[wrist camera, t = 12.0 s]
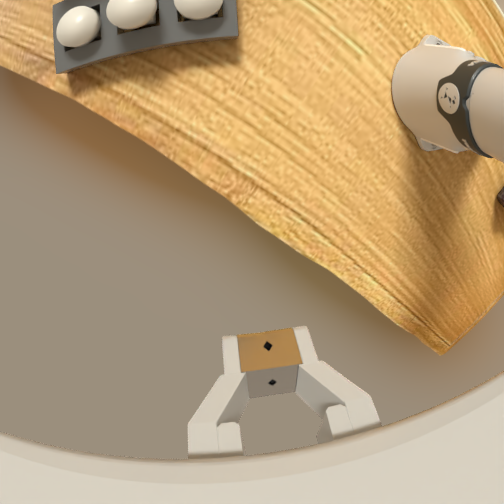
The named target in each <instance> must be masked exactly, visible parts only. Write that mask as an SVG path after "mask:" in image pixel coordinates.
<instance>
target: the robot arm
mask: <svg viewBox="0 0 504 504" xmlns="http://www.w3.org/2000/svg"><path fill="white" fill-rule="evenodd" d="M436 44H437V45H436ZM392 96H393V101H394V105H395V108H396V111H397V113H398V115H399V117H400V118H401V120H402V121H403V123H404V124H405V125H406V126H407V127H408V128H409V129H410V130H411V131H412V132H413V133H414V135H415V137H416V139H417V142H418V144H419V146H420V148H421V149H422V150H425V151H433V150H439V149H446V150H448V151H451V152H453V153H459V151H460V152H461V151H467V150H471V151H473V152H474V153H476V154H479V155H481V156H482V155H483V156H485V157H487V158H495V159H497V160H499V161H501V162H503V163H504V69H503V68H502V67H500V66H499V65H497V64H493V63H491V62H488V61H486V60H485V59H483V58H481V57H478V56H474V53H472V52H470V51H466V50H465V49H463V48H459V47H452V46H451V45H449V44H447V43H446V42H444V41H442V40H440V39H439V38H437V37H435V36H433V35H426V36H424V37H423V39H422V40H421V42H420V43H419V45H418V46H417V47H415V48H413V49H411V50H410V51H408V52H407V53H405V54H404V55H403V56H402V57H401V59H400V60H399V62H398V63H397V65H396V68H395V70H394V74H393V79H392ZM222 344H223V357H224V358H223V359H224V372H225V374H224V375H220V376H219V378H218V380H217V381H216V383H215V384H214V386H213V387H212V389H211V390H210V392H209V393H208V395H207V396H206V398H205V399H204V401H203V402H202V404H201V405H200V407H199V408H198V410H197V411H196V413H195V414H194V416H193V417H192V419H191V420H190V422H189V423H188V459H152V458H134V457H122V456H113V455H104V454H96V453H89V452H83V451H77V450H71V449H66V448H61V447H56V446H52V445H47V444H43V443H39V442H35V441H31V440H27V439H24V438H20V437H17V436H14V435H10V434H7V433H4V432H1V431H0V504H504V371H503V372H501V373H499V374H498V375H496V376H494V377H493V378H491V379H489V380H487V381H485V382H484V383H482V384H480V385H478V386H476V387H474V388H473V389H470V390H469V391H467V392H465V393H463V394H461V395H459V396H457V397H454V398H452V399H450V400H448V401H446V402H444V403H442V404H439V405H437V406H435V407H433V408H430V409H428V410H425V411H423V412H420V413H418V414H415V415H413V416H410V417H407V418H405V419H402V420H399V421H397V422H394V423H391V424H388V425H385V426H382V425H381V422H380V420H379V417H378V414H377V412H376V409H375V407H374V404H373V401H372V399H371V396H370V395H368V394H367V393H366V392H364V391H363V390H362V389H360V388H359V387H358V386H356V385H355V384H354V383H352V382H351V381H349V380H348V379H347V378H345V377H344V376H343V375H341V374H340V373H339V372H337V371H336V370H334V369H333V368H332V367H331V366H329V365H328V364H327V363H325V362H324V361H319V360H318V358H317V354H316V351H315V348H314V345H313V342H312V339H311V337H310V334H309V331H308V328H307V327H306V326H300V327H294V328H286V329H279V330H273V331H266V332H262V333H251V334H241V335H231V336H223V338H222ZM290 392H295V393H296V394H297V395H298V396H299V397H300V398H301V399H302V400H303V401H304V402H305V403H306V404H307V405H308V406H309V407H310V408H311V409H312V410H313V411H315V413H316V414H317V415H318V416H319V417H321V418H322V419H323V420H322V423H321V426H320V428H319V431H318V433H317V436H316V437H317V441H318V444H316V445H311V446H306V447H301V448H295V449H290V450H284V451H277V452H270V453H263V454H255V455H246V452H245V447H244V442H243V439H242V434H241V430H240V426H239V424H238V422H239V420H240V418H241V416H242V414H243V412H244V410H245V408H246V406H247V404H248V402H249V398H256V397H262V396H269V395H275V394H283V393H290Z"/></svg>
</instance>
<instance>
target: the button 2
mask: <svg viewBox="0 0 504 504" xmlns="http://www.w3.org/2000/svg"><path fill="white" fill-rule="evenodd" d="M174 4H175V7H176V8H177V10H178V12H179V13H180V14H181V15H182V16H183V18H184V20H185V21H189V20H203V19H207V18H216V17H217V14H218V11H219V10H220V8H221V6H222V4H223V0H174Z"/></svg>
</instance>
